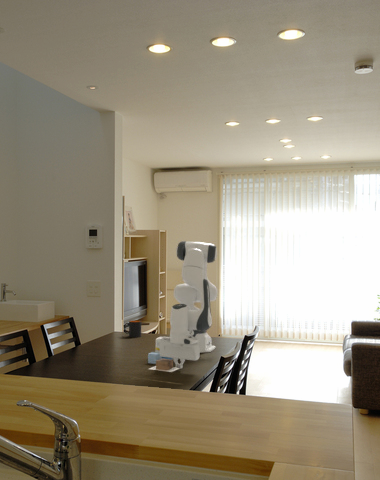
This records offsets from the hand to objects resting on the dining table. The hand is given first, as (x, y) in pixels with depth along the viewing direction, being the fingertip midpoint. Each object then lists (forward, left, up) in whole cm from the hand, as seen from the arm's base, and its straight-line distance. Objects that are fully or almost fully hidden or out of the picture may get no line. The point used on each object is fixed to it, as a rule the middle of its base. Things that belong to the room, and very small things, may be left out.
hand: (179, 367), depth 229 cm
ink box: (-19, -19, -2) cm, 27 cm away
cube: (-9, -19, -1) cm, 21 cm away
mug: (-74, -77, -2) cm, 107 cm away
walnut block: (0, -8, -1) cm, 8 cm away
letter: (0, -8, -1) cm, 8 cm away
